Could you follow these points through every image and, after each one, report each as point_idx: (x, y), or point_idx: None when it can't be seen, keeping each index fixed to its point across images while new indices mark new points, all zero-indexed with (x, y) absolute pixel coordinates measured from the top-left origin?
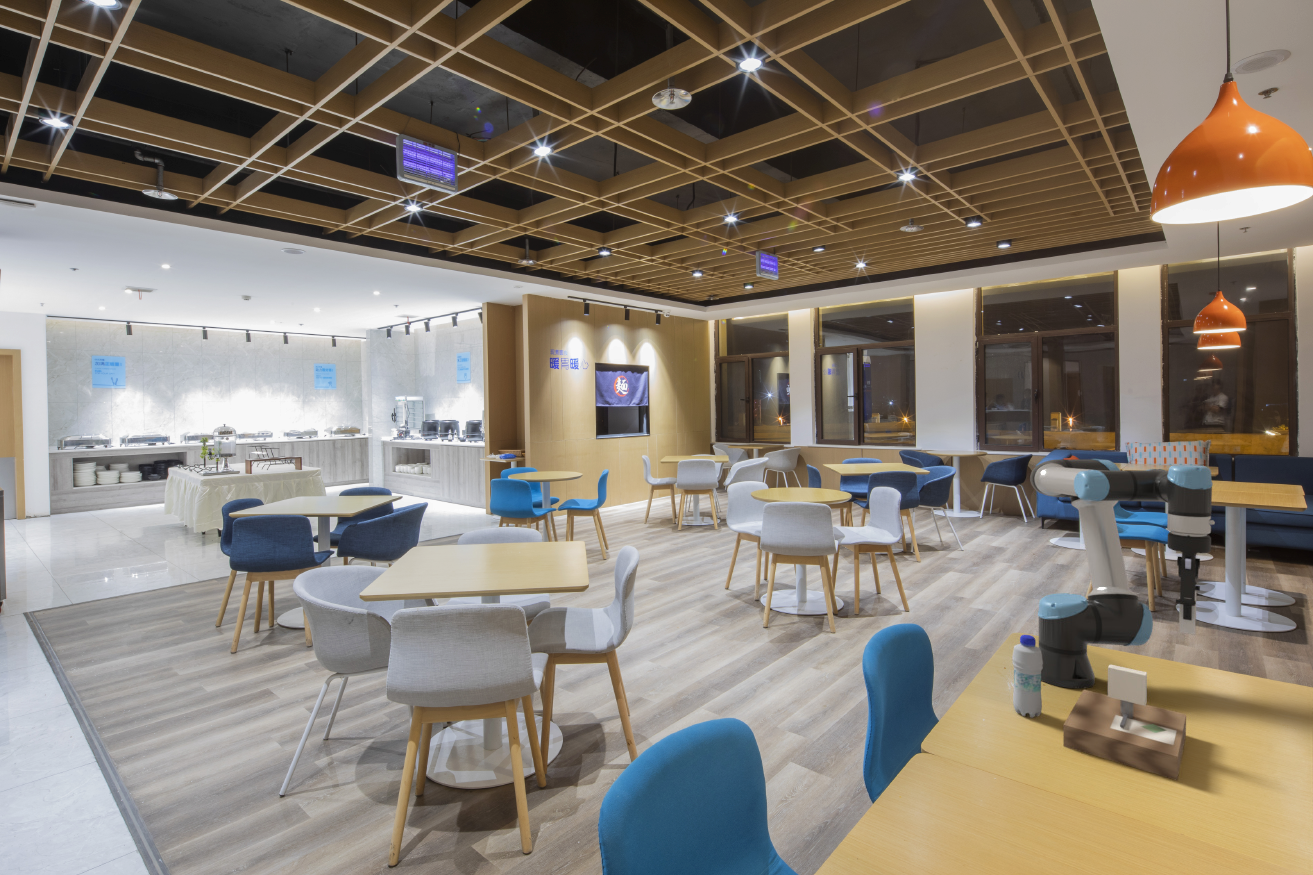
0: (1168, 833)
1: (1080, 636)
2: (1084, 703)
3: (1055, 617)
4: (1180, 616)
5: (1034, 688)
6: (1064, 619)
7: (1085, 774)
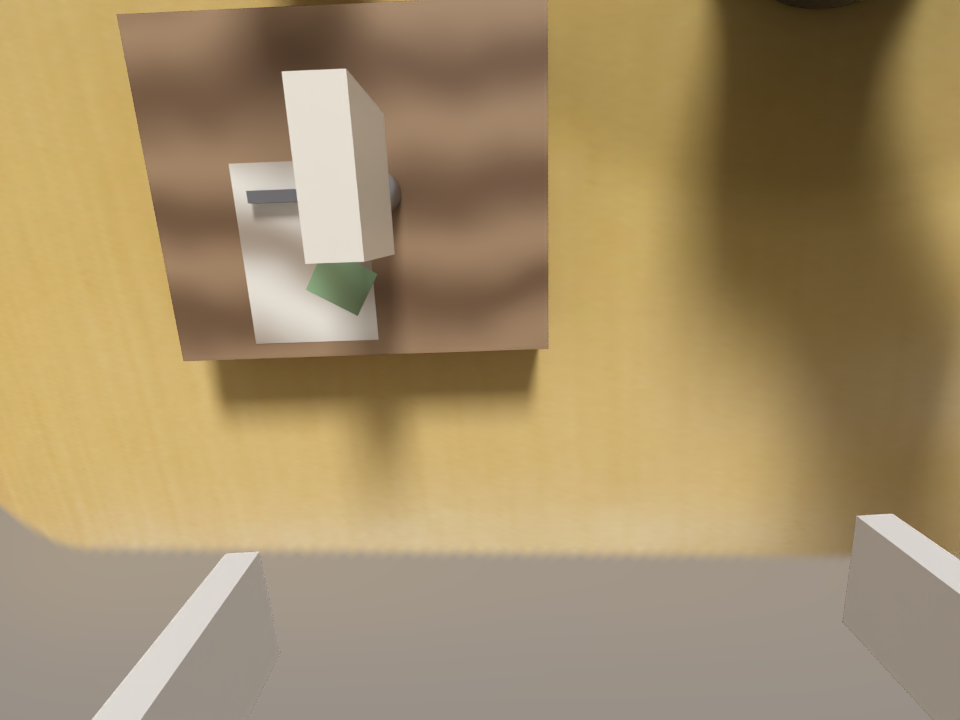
0: None
1: None
2: (389, 34)
3: None
4: (106, 717)
5: None
6: None
7: (47, 147)
